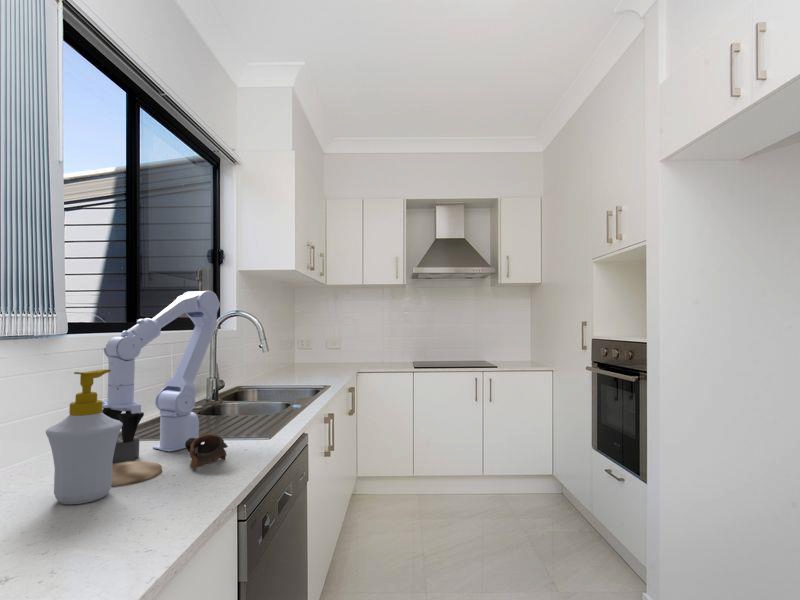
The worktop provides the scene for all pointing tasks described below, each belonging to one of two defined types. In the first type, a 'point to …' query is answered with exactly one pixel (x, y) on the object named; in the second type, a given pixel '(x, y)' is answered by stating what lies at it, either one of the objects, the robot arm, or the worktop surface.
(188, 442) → the dark brown lumpy piece
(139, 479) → the round copper disc
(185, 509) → the worktop surface
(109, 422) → the soap bottle
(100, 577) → the worktop surface
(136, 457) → the dark grey rounded block
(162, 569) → the worktop surface
